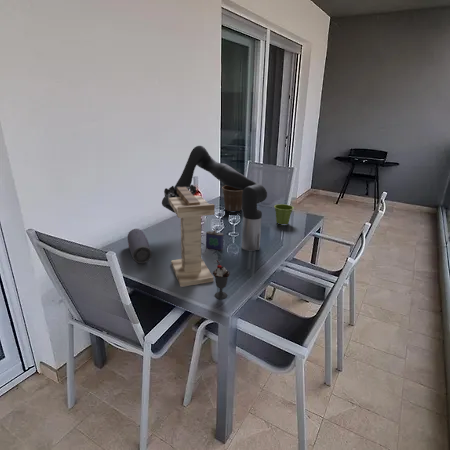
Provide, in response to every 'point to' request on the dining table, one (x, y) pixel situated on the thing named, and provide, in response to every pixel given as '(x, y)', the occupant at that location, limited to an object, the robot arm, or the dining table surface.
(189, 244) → the birch stand
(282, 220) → the plant pot
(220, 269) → the sundae
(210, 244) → the flask
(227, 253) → the dining table surface
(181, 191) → the walnut plank
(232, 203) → the plant pot
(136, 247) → the bluetooth speaker
